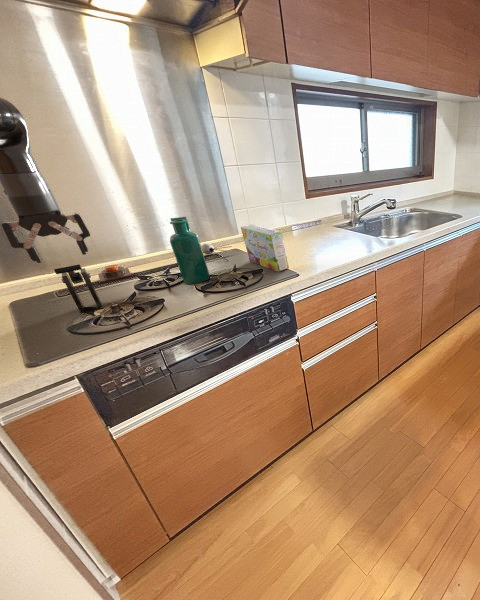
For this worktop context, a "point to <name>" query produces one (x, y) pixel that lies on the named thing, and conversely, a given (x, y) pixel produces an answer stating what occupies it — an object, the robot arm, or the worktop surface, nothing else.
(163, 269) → the worktop surface
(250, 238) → the snack box
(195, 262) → the green bottle
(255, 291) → the worktop surface
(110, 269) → the button
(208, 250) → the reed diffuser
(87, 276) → the bracket
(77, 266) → the lever
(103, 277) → the button box
